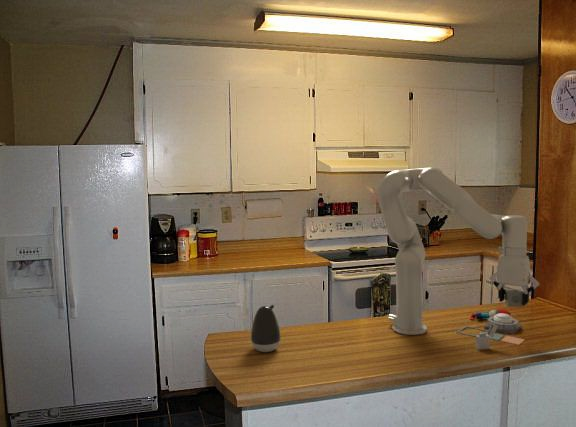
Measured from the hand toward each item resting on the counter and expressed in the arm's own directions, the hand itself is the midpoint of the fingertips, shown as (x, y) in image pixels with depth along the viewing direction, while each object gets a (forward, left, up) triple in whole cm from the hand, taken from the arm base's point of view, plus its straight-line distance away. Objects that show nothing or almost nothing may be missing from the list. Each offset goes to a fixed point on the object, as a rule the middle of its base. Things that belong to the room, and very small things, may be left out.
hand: (513, 302), depth 168 cm
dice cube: (0, 0, -1) cm, 1 cm away
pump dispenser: (-61, -60, -14) cm, 87 cm away
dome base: (-7, +11, -14) cm, 19 cm away
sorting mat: (-8, 0, -14) cm, 16 cm away
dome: (-7, +11, -12) cm, 18 cm away
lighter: (-4, -12, -14) cm, 19 cm away
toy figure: (-14, +18, -14) cm, 27 cm away
